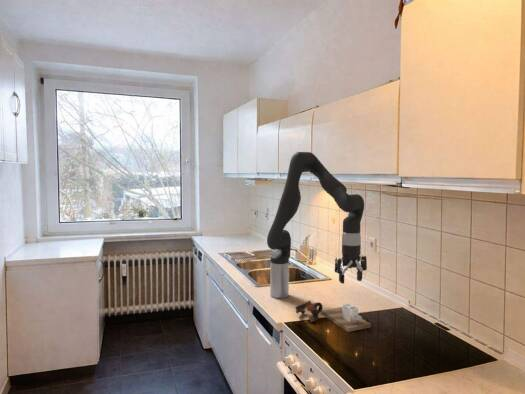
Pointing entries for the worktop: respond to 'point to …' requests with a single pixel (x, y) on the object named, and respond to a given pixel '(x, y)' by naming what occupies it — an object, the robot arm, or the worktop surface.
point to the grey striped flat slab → (344, 320)
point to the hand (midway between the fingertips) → (350, 281)
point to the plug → (350, 313)
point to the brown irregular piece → (310, 309)
